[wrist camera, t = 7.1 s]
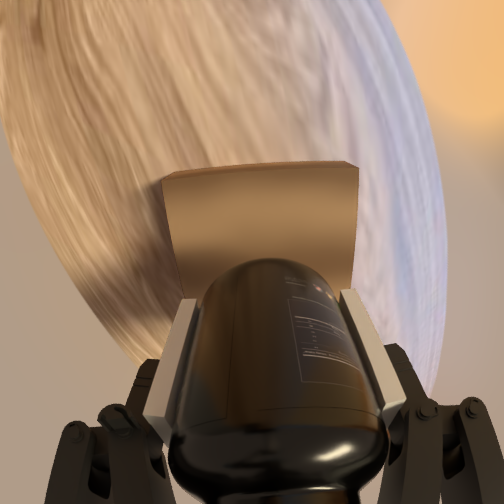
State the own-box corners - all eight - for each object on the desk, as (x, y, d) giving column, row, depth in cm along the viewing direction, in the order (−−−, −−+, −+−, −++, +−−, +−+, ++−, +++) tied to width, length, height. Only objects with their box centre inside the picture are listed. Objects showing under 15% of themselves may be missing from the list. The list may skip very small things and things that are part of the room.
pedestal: (174, 172, 19) (160, 180, 16) (344, 161, 18) (358, 167, 15) (199, 310, 24) (193, 333, 21) (336, 301, 23) (345, 323, 21)
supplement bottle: (272, 372, 16) (278, 564, 5) (177, 315, 14) (111, 546, 3) (361, 304, 14) (444, 528, 3) (265, 220, 12) (286, 600, 1)
